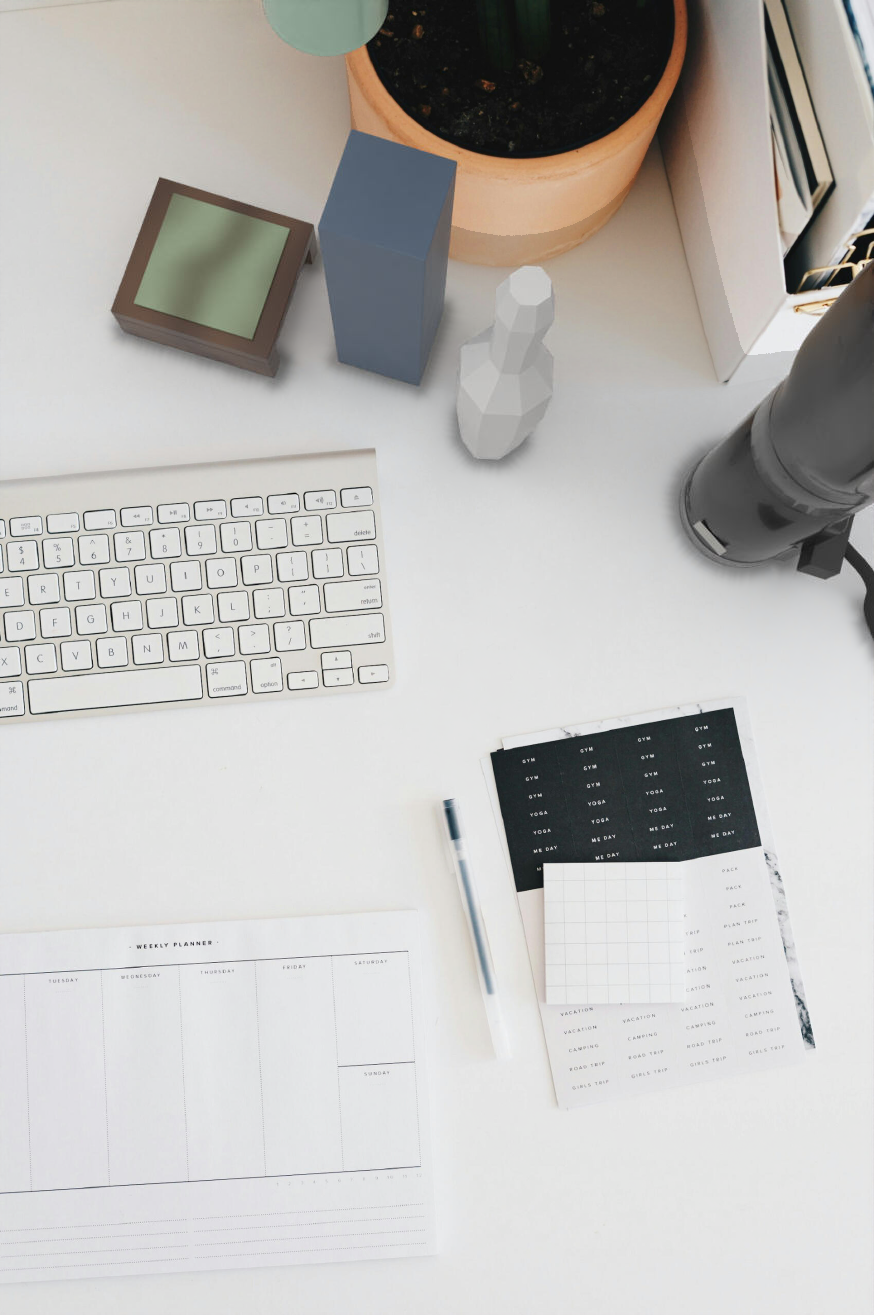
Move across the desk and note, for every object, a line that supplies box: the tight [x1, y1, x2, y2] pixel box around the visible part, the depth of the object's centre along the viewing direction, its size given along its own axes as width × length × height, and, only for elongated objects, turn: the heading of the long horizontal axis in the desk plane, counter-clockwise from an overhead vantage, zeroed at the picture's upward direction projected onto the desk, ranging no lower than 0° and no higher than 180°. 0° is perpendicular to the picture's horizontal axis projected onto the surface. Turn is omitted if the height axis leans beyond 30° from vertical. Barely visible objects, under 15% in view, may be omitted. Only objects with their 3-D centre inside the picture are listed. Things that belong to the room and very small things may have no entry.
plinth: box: [317, 128, 458, 387], centre depth 62 cm, size 6×6×18 cm
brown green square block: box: [110, 176, 319, 379], centre depth 69 cm, size 12×11×4 cm
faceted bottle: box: [455, 265, 556, 461], centre depth 60 cm, size 6×6×22 cm
